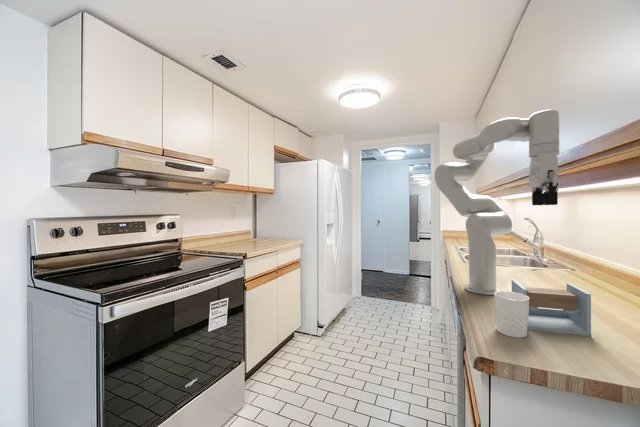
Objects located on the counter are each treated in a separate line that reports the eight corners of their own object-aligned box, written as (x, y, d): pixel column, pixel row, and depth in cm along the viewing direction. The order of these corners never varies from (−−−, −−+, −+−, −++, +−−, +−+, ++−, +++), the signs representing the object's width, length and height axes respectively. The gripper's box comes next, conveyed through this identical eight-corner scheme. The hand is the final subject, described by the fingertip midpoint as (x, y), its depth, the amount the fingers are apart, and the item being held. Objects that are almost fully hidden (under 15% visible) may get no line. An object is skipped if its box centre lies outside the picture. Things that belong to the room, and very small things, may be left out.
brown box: (521, 299, 84) (521, 286, 84) (564, 303, 80) (564, 289, 80) (529, 306, 78) (529, 292, 78) (575, 310, 75) (575, 295, 75)
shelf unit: (511, 314, 87) (511, 279, 87) (570, 320, 82) (569, 283, 82) (523, 328, 77) (523, 289, 77) (591, 336, 72) (590, 294, 71)
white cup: (523, 342, 69) (523, 302, 69) (489, 331, 76) (488, 294, 76) (534, 333, 74) (534, 296, 74) (501, 323, 80) (501, 289, 80)
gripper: (520, 156, 97) (521, 205, 97) (540, 146, 81) (540, 205, 81) (546, 155, 94) (547, 205, 95) (572, 144, 78) (572, 204, 79)
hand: (544, 205), depth 88 cm, fingers open, 9 cm apart
